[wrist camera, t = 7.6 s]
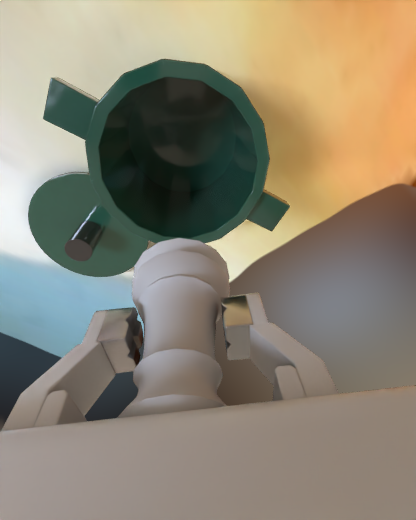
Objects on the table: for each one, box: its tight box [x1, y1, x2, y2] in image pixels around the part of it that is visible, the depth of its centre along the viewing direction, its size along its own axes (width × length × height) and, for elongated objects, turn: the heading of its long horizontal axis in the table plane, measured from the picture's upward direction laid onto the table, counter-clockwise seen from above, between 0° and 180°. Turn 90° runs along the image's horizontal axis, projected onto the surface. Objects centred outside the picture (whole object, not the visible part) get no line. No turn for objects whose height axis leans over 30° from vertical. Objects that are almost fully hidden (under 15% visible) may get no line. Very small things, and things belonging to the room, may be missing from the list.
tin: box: [43, 59, 290, 243], centre depth 22 cm, size 12×17×10 cm
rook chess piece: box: [118, 238, 230, 418], centre depth 10 cm, size 4×4×8 cm
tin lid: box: [28, 172, 149, 277], centre depth 29 cm, size 13×13×5 cm
